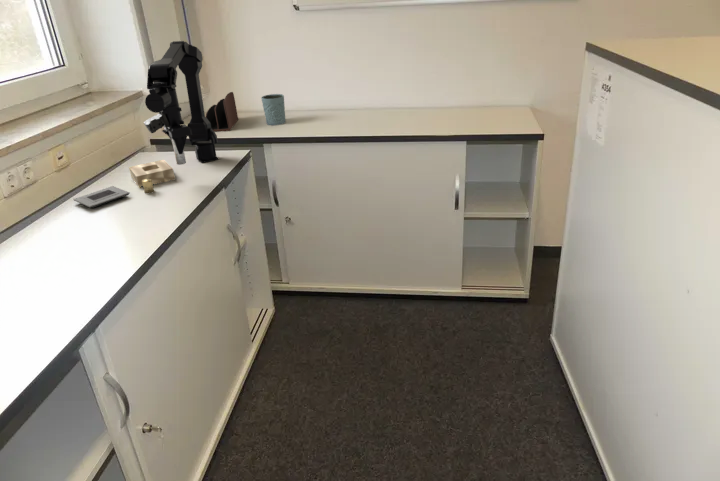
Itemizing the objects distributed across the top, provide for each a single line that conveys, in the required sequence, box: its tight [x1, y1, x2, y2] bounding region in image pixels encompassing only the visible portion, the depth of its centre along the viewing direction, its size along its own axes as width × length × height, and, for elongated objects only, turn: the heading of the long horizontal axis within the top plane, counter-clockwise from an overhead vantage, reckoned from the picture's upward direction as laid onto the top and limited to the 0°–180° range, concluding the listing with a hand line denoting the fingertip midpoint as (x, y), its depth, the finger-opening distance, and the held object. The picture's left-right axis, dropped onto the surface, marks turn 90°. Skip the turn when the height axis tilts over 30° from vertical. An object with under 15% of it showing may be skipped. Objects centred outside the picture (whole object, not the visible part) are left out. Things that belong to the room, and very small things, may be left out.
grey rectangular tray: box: [73, 185, 130, 209], centre depth 171 cm, size 13×10×2 cm
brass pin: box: [142, 179, 155, 194], centre depth 175 cm, size 3×3×4 cm
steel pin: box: [171, 139, 187, 166], centre depth 176 cm, size 3×3×10 cm
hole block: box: [128, 159, 176, 188], centre depth 186 cm, size 12×12×4 cm
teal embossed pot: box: [260, 93, 286, 126], centre depth 243 cm, size 10×10×12 cm
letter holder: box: [205, 91, 239, 133], centre depth 243 cm, size 10×20×14 cm, turn 1°
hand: (179, 152), depth 176 cm, fingers closed on steel pin, 3 cm apart
